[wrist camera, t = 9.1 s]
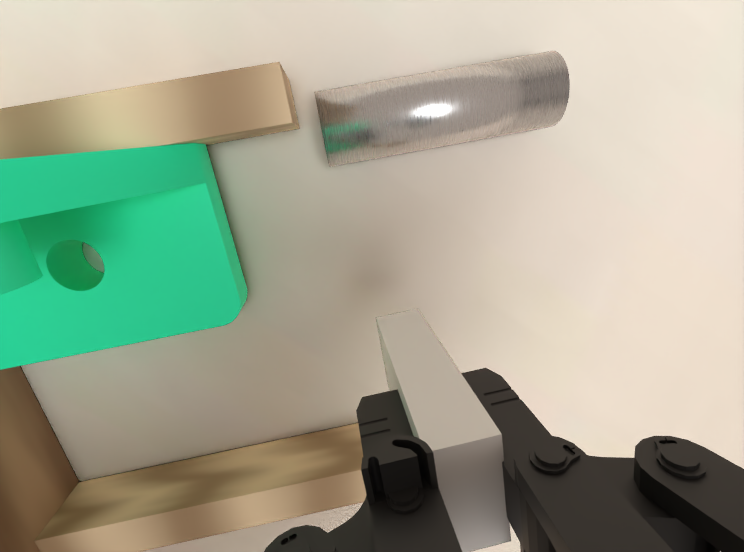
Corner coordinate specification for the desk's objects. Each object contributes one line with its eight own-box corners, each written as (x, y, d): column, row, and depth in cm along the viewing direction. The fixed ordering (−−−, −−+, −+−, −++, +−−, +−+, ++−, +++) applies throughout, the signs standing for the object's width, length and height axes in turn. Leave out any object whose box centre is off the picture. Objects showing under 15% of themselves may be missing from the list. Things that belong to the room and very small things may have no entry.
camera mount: (15, 347, 19) (-301, 541, 10) (-63, 193, 17) (-584, 243, 7) (256, 300, 20) (187, 439, 10) (212, 144, 18) (69, 132, 8)
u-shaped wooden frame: (57, 517, 22) (-17, 615, 18) (-144, 153, 16) (-340, 152, 11) (368, 450, 23) (378, 526, 18) (289, 80, 17) (273, 51, 12)
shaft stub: (311, 75, 16) (322, 130, 19) (322, 131, 15) (332, 181, 17) (549, 34, 16) (526, 94, 19) (578, 85, 15) (549, 141, 18)
